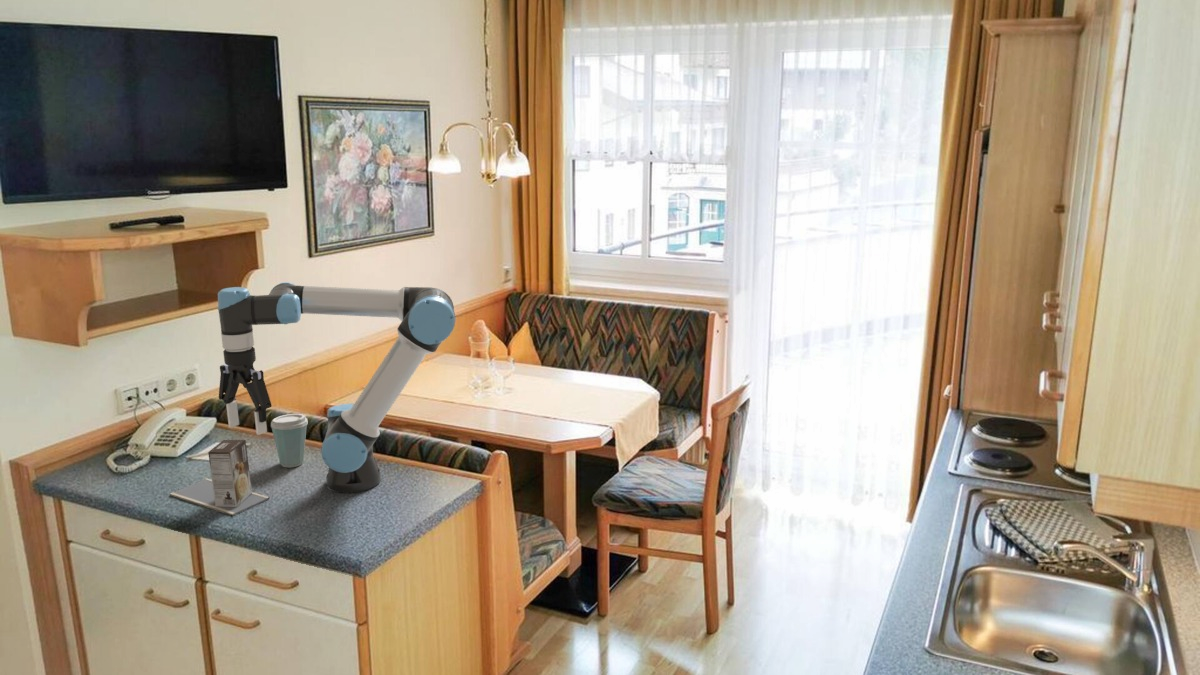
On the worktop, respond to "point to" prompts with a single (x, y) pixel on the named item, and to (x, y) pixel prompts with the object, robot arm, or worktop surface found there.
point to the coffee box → (230, 473)
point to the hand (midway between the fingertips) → (247, 429)
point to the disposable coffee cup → (290, 438)
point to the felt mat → (204, 496)
